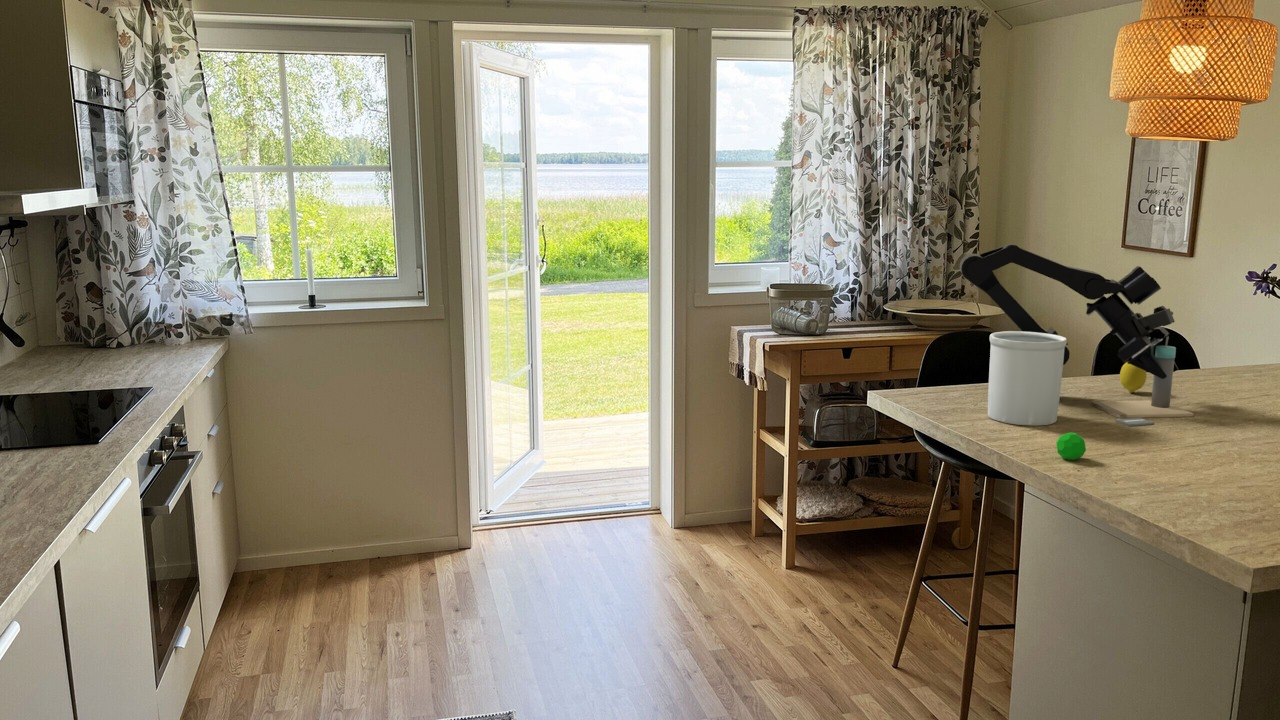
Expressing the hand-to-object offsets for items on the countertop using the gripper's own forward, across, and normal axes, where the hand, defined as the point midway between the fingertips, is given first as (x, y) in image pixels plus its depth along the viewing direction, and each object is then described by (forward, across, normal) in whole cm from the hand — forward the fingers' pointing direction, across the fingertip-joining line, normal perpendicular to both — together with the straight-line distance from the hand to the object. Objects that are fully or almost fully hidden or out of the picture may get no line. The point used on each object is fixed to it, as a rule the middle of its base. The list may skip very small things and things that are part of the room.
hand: (1170, 374), depth 210 cm
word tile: (+4, -16, +7) cm, 18 cm away
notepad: (+2, -4, +9) cm, 10 cm away
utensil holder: (-10, -26, +21) cm, 35 cm away
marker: (+4, 0, +6) cm, 7 cm away
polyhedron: (+3, -50, +9) cm, 51 cm away
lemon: (-2, +12, +13) cm, 18 cm away
